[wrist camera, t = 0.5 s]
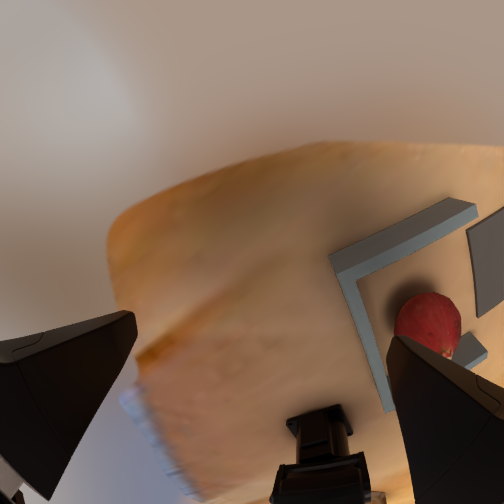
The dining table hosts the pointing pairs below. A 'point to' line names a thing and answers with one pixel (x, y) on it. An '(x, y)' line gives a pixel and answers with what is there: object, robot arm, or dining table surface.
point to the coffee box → (377, 498)
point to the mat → (487, 261)
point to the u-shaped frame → (387, 252)
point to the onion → (431, 322)
